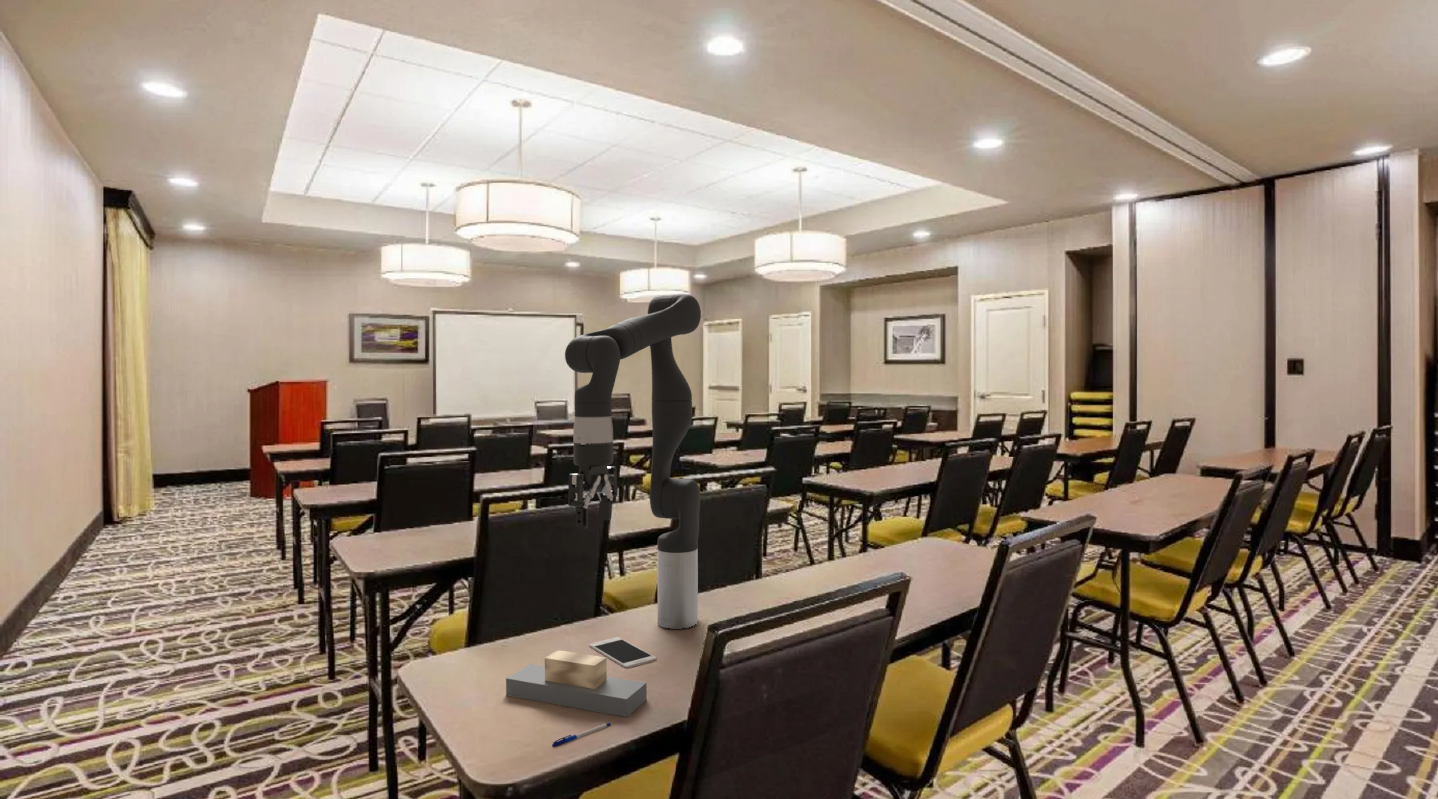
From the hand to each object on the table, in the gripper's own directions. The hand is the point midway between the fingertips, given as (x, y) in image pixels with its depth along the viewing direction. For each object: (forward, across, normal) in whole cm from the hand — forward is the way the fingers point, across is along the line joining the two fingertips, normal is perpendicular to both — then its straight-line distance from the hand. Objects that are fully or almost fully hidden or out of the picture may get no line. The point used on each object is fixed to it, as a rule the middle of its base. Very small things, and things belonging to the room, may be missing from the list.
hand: (594, 523), depth 141 cm
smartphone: (+29, -9, +1) cm, 30 cm away
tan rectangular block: (+28, +13, +4) cm, 31 cm away
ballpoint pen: (+28, +25, +12) cm, 40 cm away
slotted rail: (+28, +13, +4) cm, 31 cm away
